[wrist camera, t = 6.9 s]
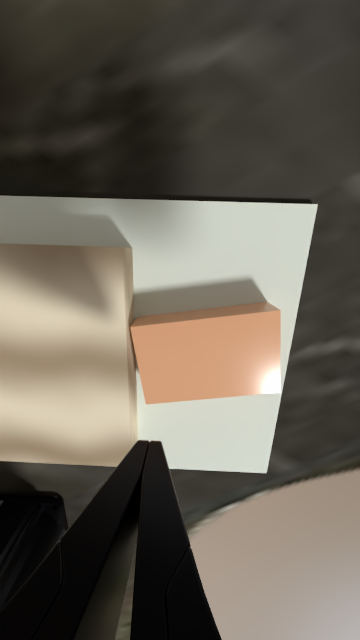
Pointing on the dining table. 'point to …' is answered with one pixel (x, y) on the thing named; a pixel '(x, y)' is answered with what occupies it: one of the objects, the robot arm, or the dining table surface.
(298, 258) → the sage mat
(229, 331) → the terracotta tile
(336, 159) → the dining table surface
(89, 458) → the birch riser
